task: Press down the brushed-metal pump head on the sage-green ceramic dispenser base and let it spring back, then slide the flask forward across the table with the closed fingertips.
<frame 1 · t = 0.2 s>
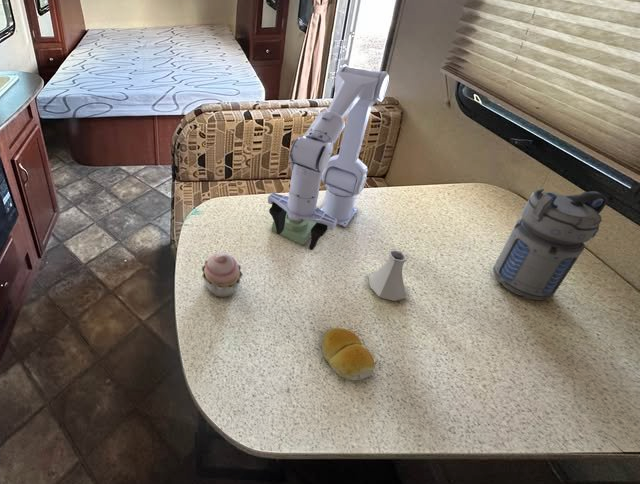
hand: (295, 239, 84), 10 cm above the table, tool pointing down, fingers open, 7 cm apart
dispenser: (296, 226, 102), on the table
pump: (295, 215, 98), point 5 cm above the table, slide at 0.1 cm
bread roll: (345, 358, 70), on the table
beverage bottle: (523, 284, 82), on the table
flask: (386, 288, 83), on the table
cupcake: (221, 287, 85), on the table
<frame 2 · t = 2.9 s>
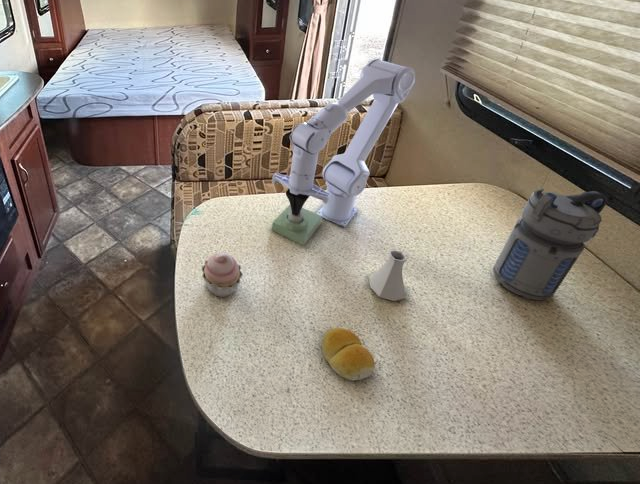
hand: (295, 213, 97), 6 cm above the table, tool pointing down, fingers closed, pressing on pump
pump: (295, 216, 98), point 5 cm above the table, slide at 0.0 cm, touching gripper
everything else where it was.
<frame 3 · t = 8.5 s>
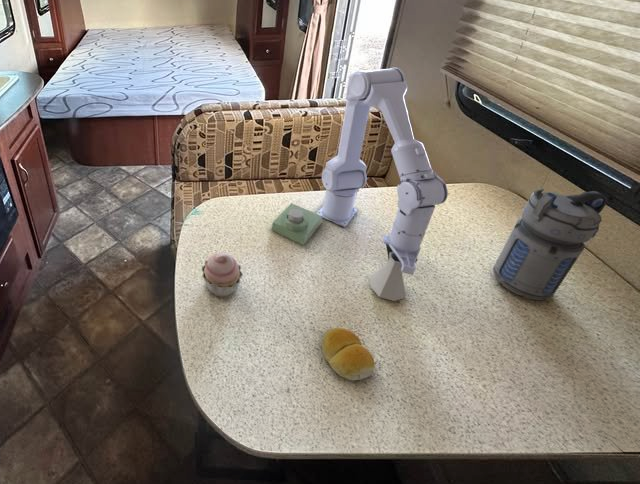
hand: (393, 272, 84), 2 cm above the table, tool pointing down, fingers closed, pressing on flask
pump: (295, 215, 98), point 5 cm above the table, slide at 0.1 cm
flask: (386, 287, 83), on the table, touching gripper
everything else where it was.
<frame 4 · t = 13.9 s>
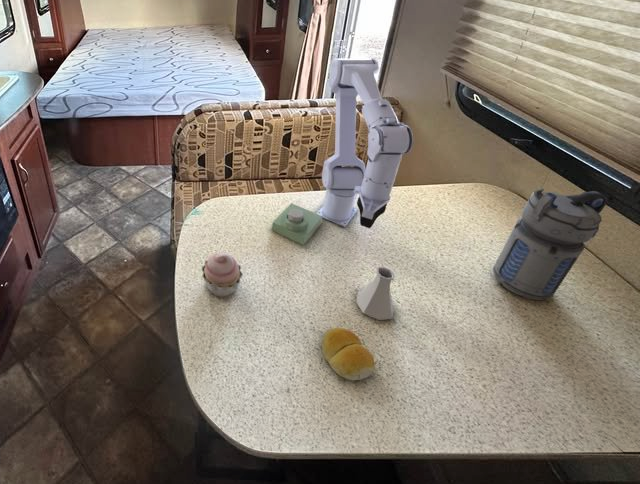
hand: (365, 225, 86), 10 cm above the table, tool pointing down, fingers closed
flask: (374, 306, 79), on the table
everything else where it was.
at the end: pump pushed in 1.2 cm at the most during the clip, back to where it started at the end; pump slide at 0.1 cm; flask inside the target area (2.0 cm from its centre), on the table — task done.
